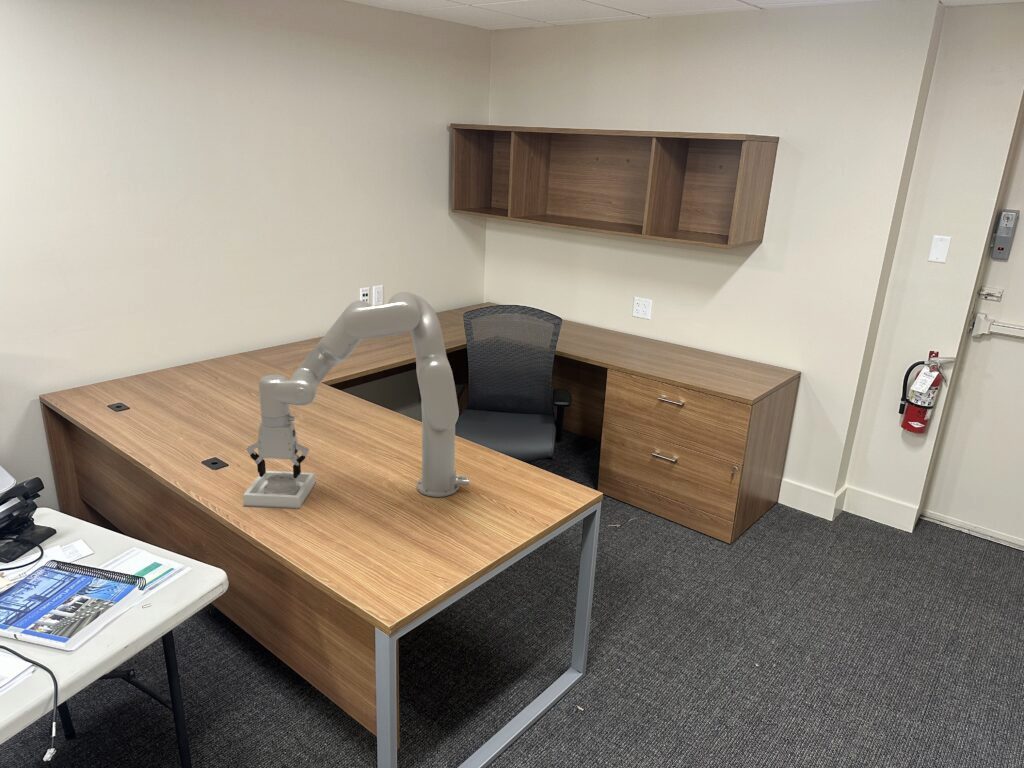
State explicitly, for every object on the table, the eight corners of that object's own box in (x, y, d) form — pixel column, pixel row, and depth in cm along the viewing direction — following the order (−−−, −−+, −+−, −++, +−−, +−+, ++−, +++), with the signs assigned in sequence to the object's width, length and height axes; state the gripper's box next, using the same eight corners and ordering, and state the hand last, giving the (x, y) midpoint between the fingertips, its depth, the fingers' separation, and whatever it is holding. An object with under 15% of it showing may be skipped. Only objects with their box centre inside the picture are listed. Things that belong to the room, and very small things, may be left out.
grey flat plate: (316, 482, 213) (316, 481, 213) (299, 510, 197) (299, 509, 196) (264, 480, 213) (264, 479, 213) (242, 507, 197) (242, 506, 197)
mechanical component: (307, 491, 205) (286, 480, 211) (306, 477, 204) (286, 466, 209) (277, 503, 198) (256, 491, 203) (276, 488, 196) (255, 477, 202)
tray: (315, 482, 212) (314, 473, 211) (299, 507, 197) (299, 497, 196) (263, 480, 212) (262, 470, 211) (244, 505, 197) (243, 494, 196)
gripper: (310, 415, 201) (313, 471, 206) (249, 413, 201) (254, 468, 206) (303, 425, 194) (306, 482, 199) (239, 423, 194) (244, 480, 199)
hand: (279, 475), depth 203 cm, fingers open, 9 cm apart
